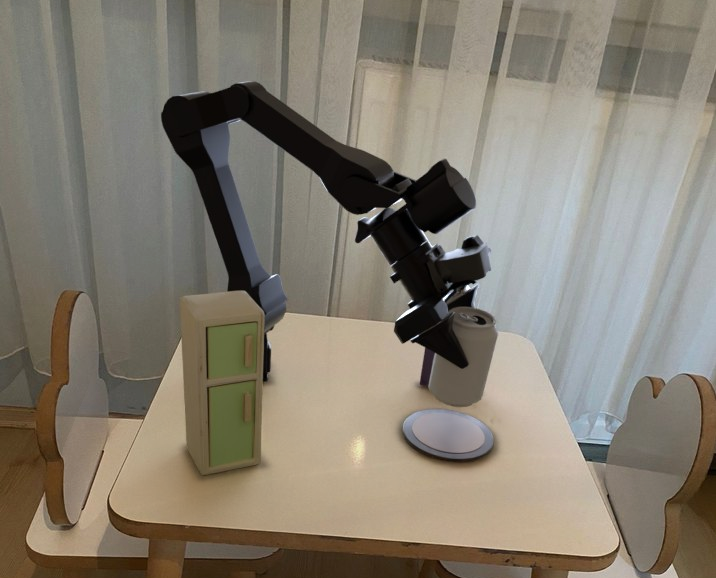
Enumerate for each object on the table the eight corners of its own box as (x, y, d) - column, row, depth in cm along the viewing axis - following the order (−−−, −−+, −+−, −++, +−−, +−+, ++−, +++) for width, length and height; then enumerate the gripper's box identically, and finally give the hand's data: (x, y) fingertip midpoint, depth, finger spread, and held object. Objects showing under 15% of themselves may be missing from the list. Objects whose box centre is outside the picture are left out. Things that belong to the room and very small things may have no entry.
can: (488, 411, 95) (509, 329, 89) (434, 410, 94) (452, 326, 87) (472, 383, 101) (491, 304, 95) (421, 381, 100) (437, 301, 93)
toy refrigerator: (201, 480, 87) (198, 321, 75) (184, 448, 92) (178, 294, 80) (263, 468, 90) (268, 314, 78) (243, 437, 96) (245, 289, 84)
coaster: (414, 463, 95) (415, 459, 94) (393, 412, 105) (393, 408, 105) (505, 461, 98) (506, 457, 97) (476, 411, 108) (477, 408, 108)
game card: (426, 343, 110) (483, 350, 110) (424, 339, 115) (479, 347, 115) (419, 385, 112) (476, 393, 112) (418, 380, 117) (472, 388, 117)
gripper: (436, 237, 78) (509, 356, 81) (481, 202, 93) (541, 303, 96) (362, 287, 85) (432, 395, 88) (415, 247, 99) (474, 340, 103)
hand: (473, 355), depth 93 cm, fingers closed on can, 7 cm apart
